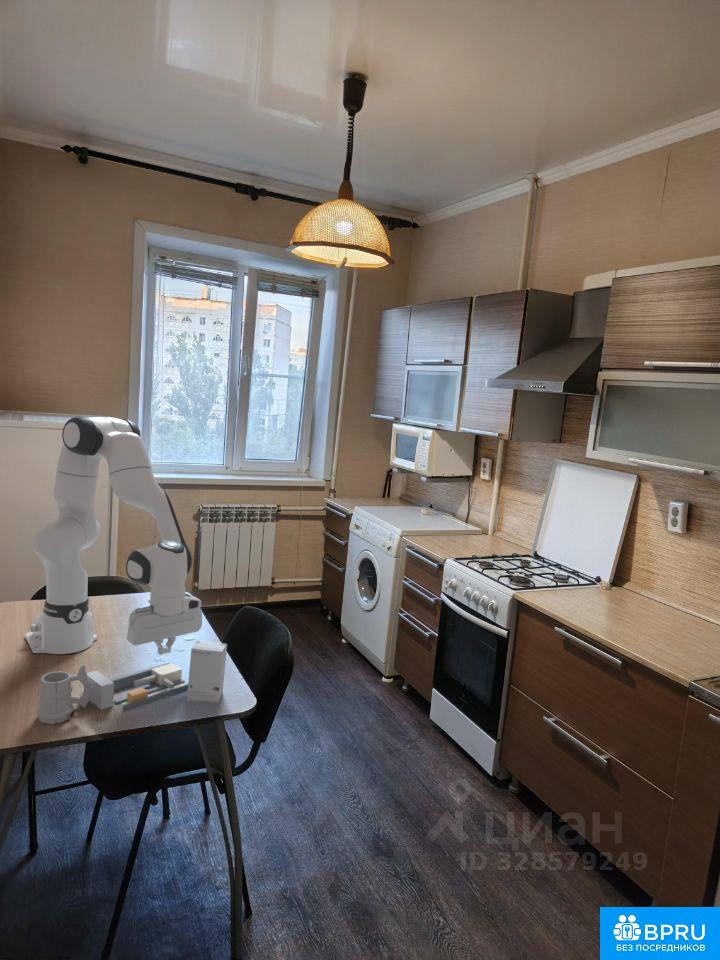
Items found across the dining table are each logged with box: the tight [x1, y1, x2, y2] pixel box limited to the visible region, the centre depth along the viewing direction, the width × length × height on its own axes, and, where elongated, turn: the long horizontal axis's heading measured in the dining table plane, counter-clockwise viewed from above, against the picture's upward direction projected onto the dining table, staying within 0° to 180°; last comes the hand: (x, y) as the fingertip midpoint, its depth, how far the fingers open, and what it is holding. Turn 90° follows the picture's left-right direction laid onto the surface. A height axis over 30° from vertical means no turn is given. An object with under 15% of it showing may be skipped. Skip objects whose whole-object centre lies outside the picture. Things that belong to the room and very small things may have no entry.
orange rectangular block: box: [126, 687, 148, 703], centre depth 156 cm, size 3×4×2 cm, turn 138°
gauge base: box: [87, 662, 188, 711], centre depth 163 cm, size 17×26×7 cm, turn 138°
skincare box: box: [186, 640, 228, 703], centre depth 161 cm, size 8×6×15 cm
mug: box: [36, 663, 92, 725], centre depth 149 cm, size 8×12×12 cm, turn 121°
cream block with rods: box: [133, 662, 183, 689], centre depth 164 cm, size 10×12×3 cm
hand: (164, 653), depth 167 cm, fingers closed
